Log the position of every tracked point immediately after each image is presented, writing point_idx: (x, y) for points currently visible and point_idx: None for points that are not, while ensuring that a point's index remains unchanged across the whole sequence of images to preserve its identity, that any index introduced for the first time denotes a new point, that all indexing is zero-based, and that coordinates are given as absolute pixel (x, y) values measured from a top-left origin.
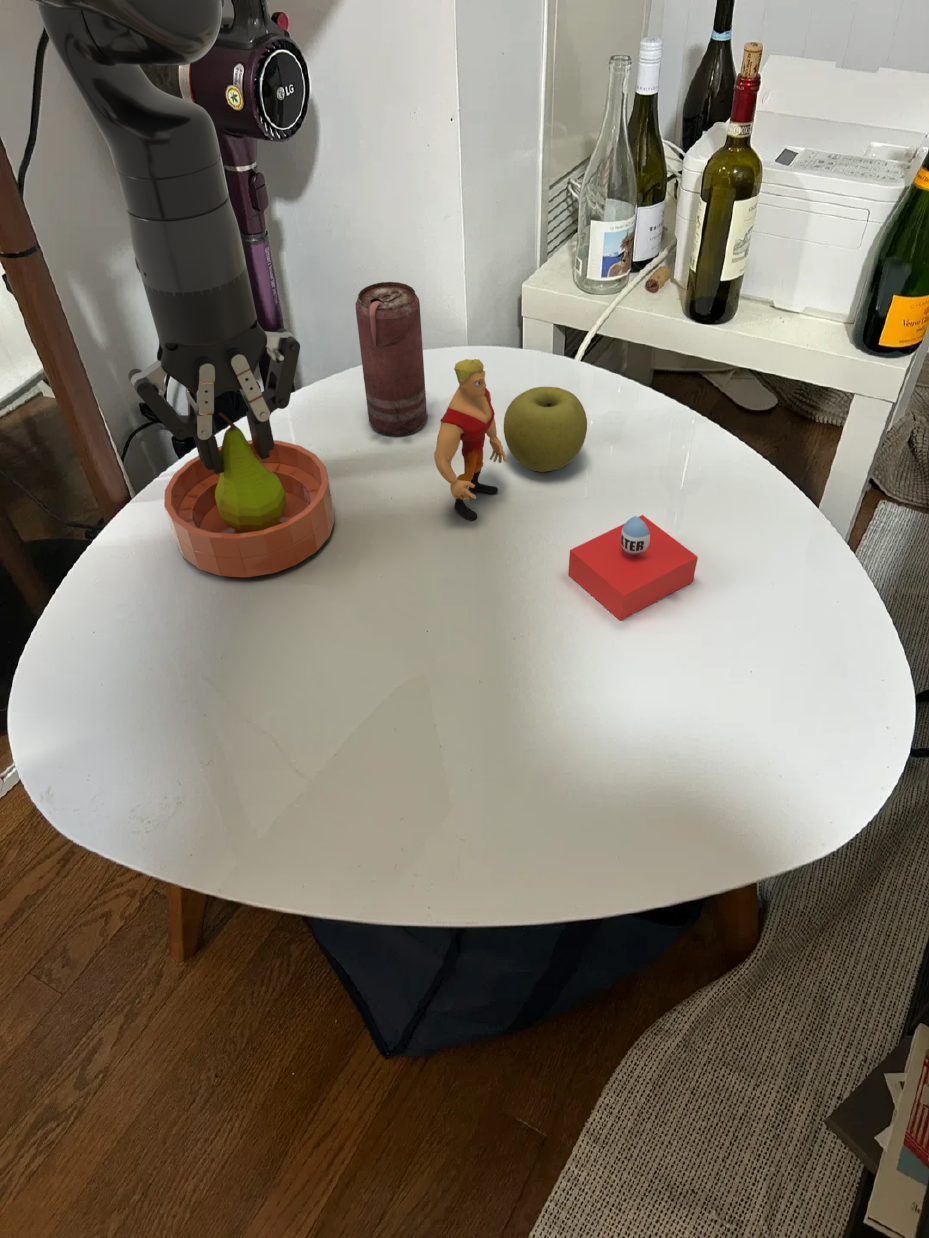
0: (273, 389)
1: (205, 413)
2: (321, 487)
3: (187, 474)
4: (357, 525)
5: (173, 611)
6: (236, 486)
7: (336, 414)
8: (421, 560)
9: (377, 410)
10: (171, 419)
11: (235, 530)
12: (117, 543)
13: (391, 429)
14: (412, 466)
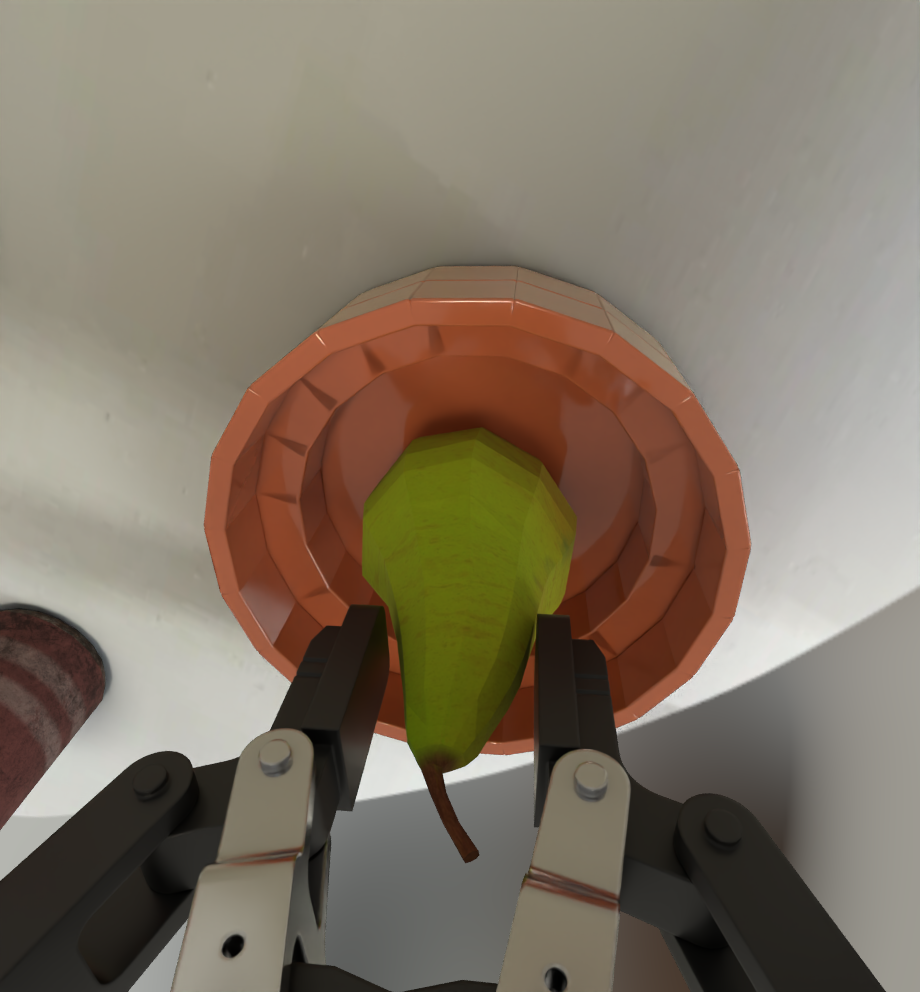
0: (162, 871)
1: (575, 895)
2: (240, 440)
3: None
4: (222, 359)
5: (841, 286)
6: (514, 549)
7: (178, 740)
8: (66, 85)
9: (46, 690)
10: (790, 944)
11: None
12: (805, 616)
13: (50, 633)
14: (33, 502)
